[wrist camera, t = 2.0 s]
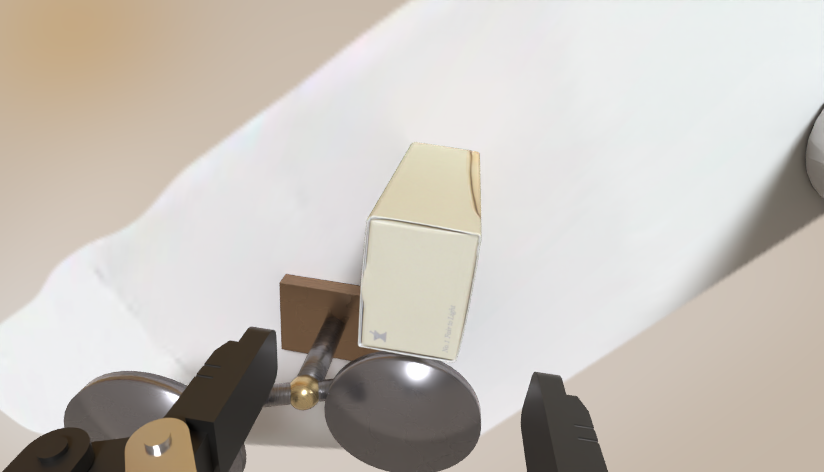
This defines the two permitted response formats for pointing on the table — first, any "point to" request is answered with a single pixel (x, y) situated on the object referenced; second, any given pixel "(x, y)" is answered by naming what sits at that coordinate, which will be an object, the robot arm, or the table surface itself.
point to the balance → (322, 390)
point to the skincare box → (422, 255)
